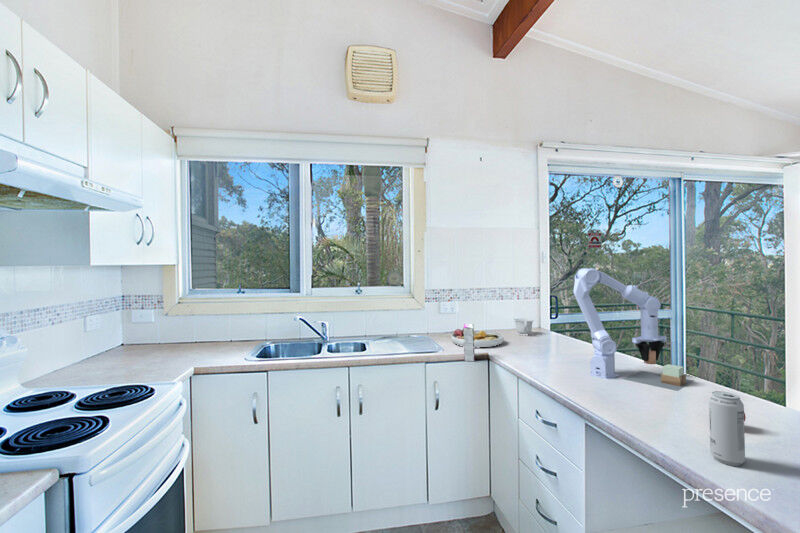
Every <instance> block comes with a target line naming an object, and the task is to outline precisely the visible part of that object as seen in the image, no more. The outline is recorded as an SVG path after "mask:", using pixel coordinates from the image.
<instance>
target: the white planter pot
mask: <svg viewBox="0 0 800 533" xmlns="http://www.w3.org/2000/svg"><path fill="white" fill-rule="evenodd" d="M513 321H514V322H515V330H516V332H518V334H529V335H530V333H531V332H532V328H533V322H534V319H532V318H525V317H524V318H514V320H513Z"/></svg>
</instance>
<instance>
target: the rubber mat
mask: <svg viewBox="0 0 800 533" xmlns="http://www.w3.org/2000/svg"><path fill="white" fill-rule="evenodd" d="M661 374H662V373H657V372H651V371H646V370H639V371H637V372H634V373H632V374H631V375H628V376H626V377H624V378H622V380H624V381H629V382H633V383H639V384H643V385H644V384H645V385H647V386H652V387H658V388H660V389H661V388H662V389H666V390H671V391H677V392H678V391H680V390H682V389H683V388H685V387H687V386H688V385H690V384H692V383H694V382H695V379H690V378H686V383H685V384H684V385H682V386H675V385H670V384H666V383H661Z"/></svg>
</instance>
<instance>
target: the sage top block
mask: <svg viewBox="0 0 800 533" xmlns="http://www.w3.org/2000/svg"><path fill="white" fill-rule="evenodd" d="M684 368H685V367H684V366H681V365H675V364H669V363H667V364H665V365H663V366H662V374H663V375H668V376H673V377H678V378H679V377H681V376H683V375H685V369H684Z"/></svg>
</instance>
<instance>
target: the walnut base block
mask: <svg viewBox="0 0 800 533" xmlns="http://www.w3.org/2000/svg"><path fill="white" fill-rule="evenodd" d="M660 374H661V383H666V384H670V385H675V386H682V385H684V384H685V383H686V379H687V374H684V375H683V376H681V377H679V378H678V377H673V376H668V375H663V373H660Z"/></svg>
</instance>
